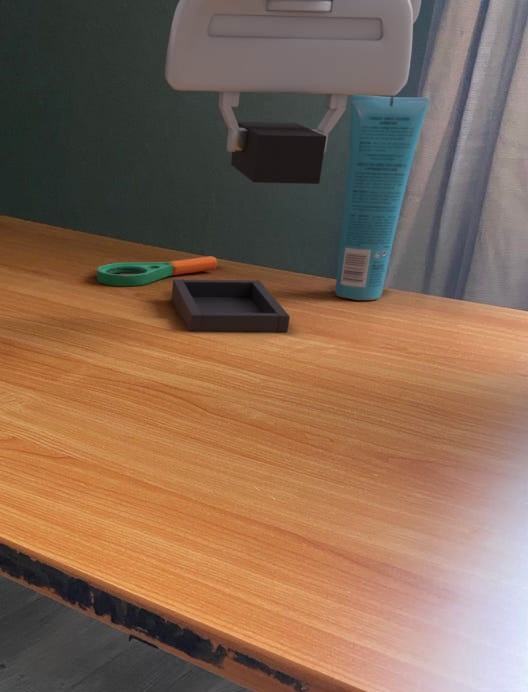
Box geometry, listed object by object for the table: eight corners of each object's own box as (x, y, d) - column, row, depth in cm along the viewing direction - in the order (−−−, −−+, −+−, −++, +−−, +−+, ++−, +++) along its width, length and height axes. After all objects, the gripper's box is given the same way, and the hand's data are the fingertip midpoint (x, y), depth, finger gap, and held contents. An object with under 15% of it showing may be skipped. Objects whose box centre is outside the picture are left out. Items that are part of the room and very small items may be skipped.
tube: (387, 292, 110) (424, 95, 100) (396, 302, 106) (435, 98, 96) (319, 289, 111) (349, 93, 100) (325, 300, 106) (357, 96, 96)
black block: (290, 166, 93) (296, 122, 91) (319, 184, 83) (326, 136, 81) (230, 164, 92) (235, 121, 91) (253, 182, 83) (259, 134, 81)
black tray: (257, 300, 106) (259, 280, 105) (286, 338, 94) (290, 315, 92) (171, 299, 106) (173, 279, 105) (189, 337, 93) (191, 314, 92)
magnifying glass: (112, 288, 110) (113, 272, 109) (87, 277, 114) (87, 261, 113) (226, 276, 115) (228, 261, 114) (197, 266, 120) (199, 251, 119)
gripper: (415, -34, 83) (381, 150, 90) (170, -41, 82) (156, 145, 89) (441, -37, 77) (403, 159, 85) (180, -44, 77) (164, 154, 84)
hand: (274, 152), depth 87 cm, fingers closed on black block, 5 cm apart
